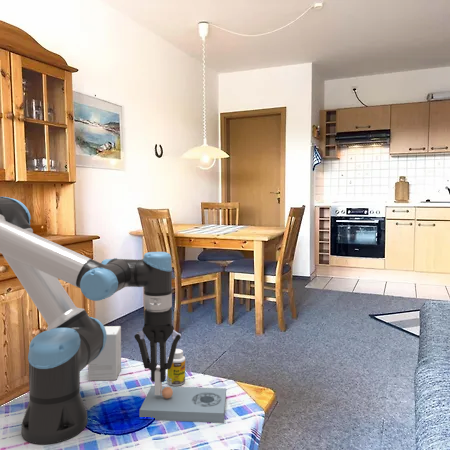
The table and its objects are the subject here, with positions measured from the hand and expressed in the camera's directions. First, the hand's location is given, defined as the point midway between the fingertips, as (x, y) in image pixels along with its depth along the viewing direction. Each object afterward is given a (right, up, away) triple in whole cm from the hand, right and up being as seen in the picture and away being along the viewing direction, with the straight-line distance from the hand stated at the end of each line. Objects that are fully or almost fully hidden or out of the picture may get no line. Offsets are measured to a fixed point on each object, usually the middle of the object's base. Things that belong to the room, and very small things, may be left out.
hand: (158, 392), depth 112 cm
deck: (+7, -4, 0) cm, 8 cm away
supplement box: (-21, -3, +20) cm, 29 cm away
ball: (+3, 0, 0) cm, 3 cm away
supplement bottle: (+3, -3, +15) cm, 16 cm away
